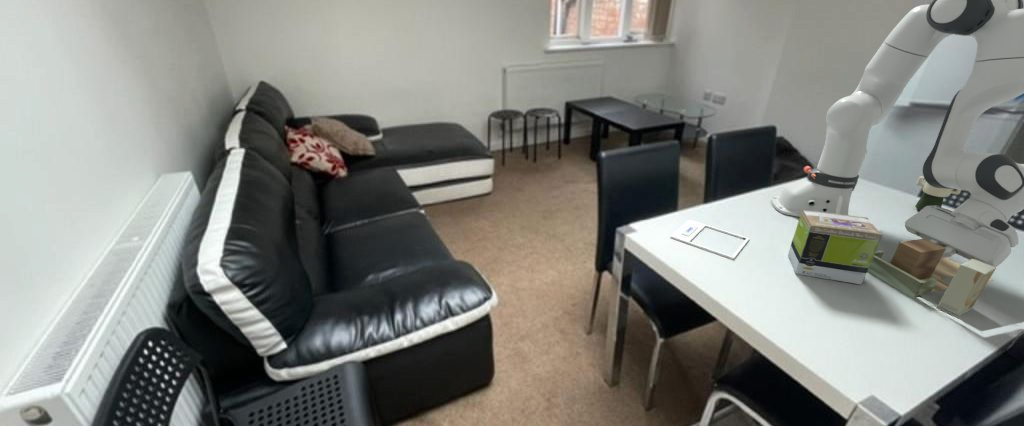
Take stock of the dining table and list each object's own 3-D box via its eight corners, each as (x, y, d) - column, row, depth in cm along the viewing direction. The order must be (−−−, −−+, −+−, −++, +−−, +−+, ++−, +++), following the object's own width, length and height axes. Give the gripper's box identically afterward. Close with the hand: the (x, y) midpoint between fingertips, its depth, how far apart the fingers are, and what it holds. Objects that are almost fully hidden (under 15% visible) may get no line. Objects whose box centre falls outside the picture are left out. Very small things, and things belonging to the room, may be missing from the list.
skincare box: (958, 319, 99) (985, 274, 93) (934, 308, 102) (959, 264, 97) (971, 311, 102) (998, 267, 96) (947, 300, 105) (972, 257, 99)
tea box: (848, 265, 118) (869, 216, 112) (861, 286, 110) (884, 235, 103) (786, 255, 123) (802, 207, 116) (793, 274, 114) (812, 224, 107)
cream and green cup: (948, 213, 147) (967, 177, 141) (945, 220, 142) (965, 183, 137) (907, 203, 154) (923, 168, 148) (903, 208, 150) (920, 173, 144)
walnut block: (909, 267, 116) (924, 238, 111) (929, 278, 111) (946, 248, 107) (885, 272, 114) (900, 242, 110) (905, 283, 109) (921, 252, 105)
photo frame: (689, 218, 140) (749, 237, 130) (688, 221, 141) (748, 241, 130) (670, 235, 130) (734, 257, 120) (670, 238, 131) (733, 260, 120)
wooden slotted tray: (932, 254, 123) (939, 240, 121) (991, 283, 111) (1000, 268, 109) (859, 266, 118) (865, 252, 116) (913, 298, 106) (921, 282, 104)
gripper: (927, 196, 117) (884, 232, 119) (1023, 232, 99) (971, 274, 101) (932, 209, 120) (890, 244, 122) (1027, 247, 102) (976, 287, 104)
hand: (928, 258), depth 112 cm, fingers closed, pressing on walnut block
